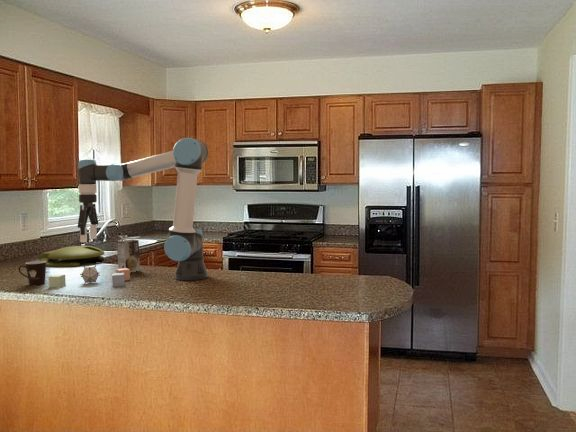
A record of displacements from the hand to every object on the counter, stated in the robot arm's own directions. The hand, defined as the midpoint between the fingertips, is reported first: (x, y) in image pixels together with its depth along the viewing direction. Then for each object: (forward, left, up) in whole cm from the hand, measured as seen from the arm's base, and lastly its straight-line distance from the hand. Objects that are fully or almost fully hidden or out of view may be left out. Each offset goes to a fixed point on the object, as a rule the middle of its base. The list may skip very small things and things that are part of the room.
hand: (88, 240), depth 245 cm
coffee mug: (+26, -2, -20) cm, 33 cm away
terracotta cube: (-13, -6, -20) cm, 24 cm away
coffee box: (-11, -27, -20) cm, 35 cm away
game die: (0, +1, -20) cm, 20 cm away
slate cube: (-14, +7, -20) cm, 25 cm away
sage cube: (+13, +6, -20) cm, 24 cm away
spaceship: (+29, -65, -20) cm, 74 cm away
